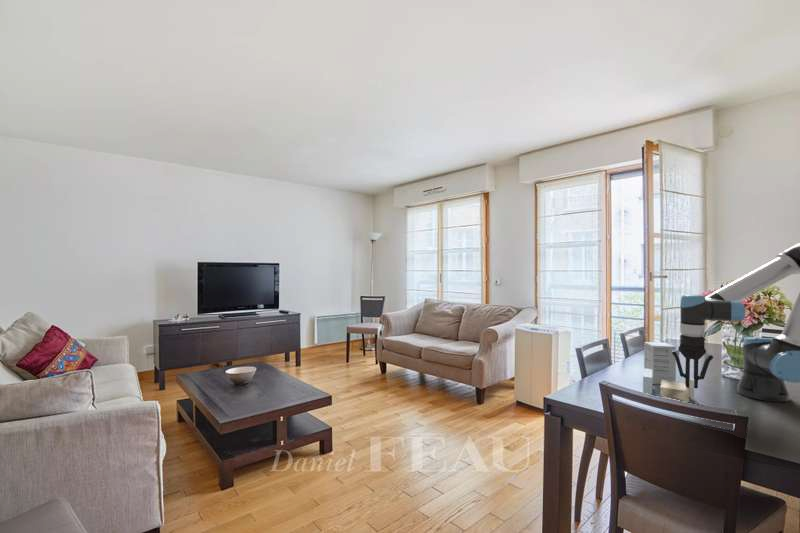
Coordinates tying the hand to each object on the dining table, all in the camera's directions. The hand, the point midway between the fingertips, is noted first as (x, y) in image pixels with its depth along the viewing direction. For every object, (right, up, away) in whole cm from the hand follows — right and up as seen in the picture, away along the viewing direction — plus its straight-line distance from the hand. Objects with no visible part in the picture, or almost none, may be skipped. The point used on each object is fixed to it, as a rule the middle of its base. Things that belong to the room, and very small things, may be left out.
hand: (691, 395), depth 149 cm
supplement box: (+3, -1, +22) cm, 23 cm away
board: (-11, -1, +9) cm, 14 cm away
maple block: (-4, -2, +3) cm, 6 cm away
